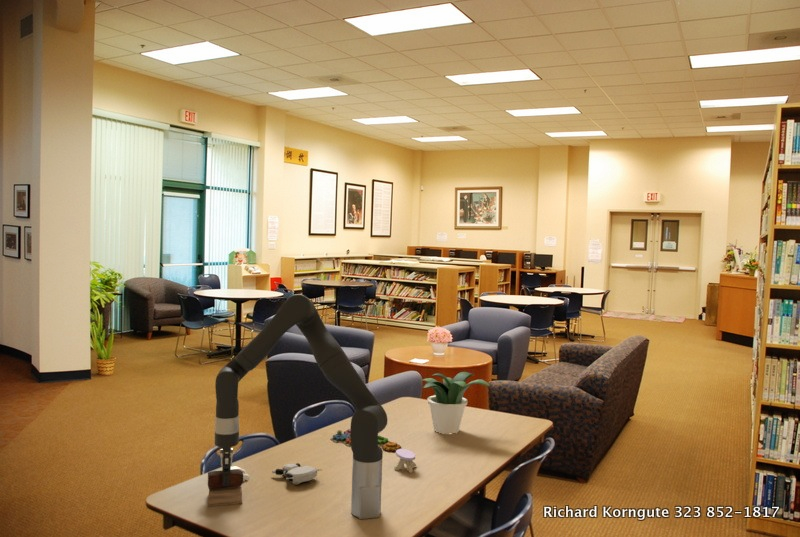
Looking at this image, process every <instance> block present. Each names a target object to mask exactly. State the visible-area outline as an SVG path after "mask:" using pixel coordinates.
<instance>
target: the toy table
mask: <svg viewBox="0 0 800 537" xmlns="http://www.w3.org/2000/svg"><path fill="white" fill-rule="evenodd" d="M395 456H396V457H398V458H400V459H399V461H398V462H397V463H396V465H395V466H394V470H395V471H400V470H399V469H401V470H402V468H403V467H404V466H405V465H406V471H407V472H409V471H410V472H409V473H412V472H413V468H416V467H417V464H416V462H414V460H416V454H415V453H414V452H413V451H411V450H409V449H406V448H405V449H404V448H401V449H398V450H395ZM415 466H416V467H415Z"/></svg>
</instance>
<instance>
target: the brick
mask: <svg viewBox="0 0 800 537" xmlns="http://www.w3.org/2000/svg"><path fill="white" fill-rule="evenodd" d="M230 471H231V473H230V485H229V486H223V485H222V483H223V475H222V470H212V471H208V472H207V488H208V490H209V489H220V488H228V487H235V486H242V485H243V482H244V481H243V472H242V471H241V470H240V469H232V470H230Z"/></svg>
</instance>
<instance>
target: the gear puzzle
mask: <svg viewBox="0 0 800 537" xmlns="http://www.w3.org/2000/svg"><path fill="white" fill-rule="evenodd" d="M342 432H343V433H342ZM330 440H331V441H332V442H333V443H334V444H336V443H337V444H338V443H340V444H344V445H345V446H346V447H350V448H351V428H348V429H346V430H345V431H343V430H340V429H339V430H337V432H336V433H335V434H334V435H332V437H331V438H330ZM378 446H379V447H381V448H382V451H383V450H385V451H387V452H388V451H389V452H390V451H391V452H394V451H395V452H396V450H398V449H402V445H400V444H398V443H397V442H394V441H393V442H392V441H391V440H389V438H388V437H384V436H381V435H378Z"/></svg>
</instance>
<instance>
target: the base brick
mask: <svg viewBox="0 0 800 537" xmlns="http://www.w3.org/2000/svg"><path fill="white" fill-rule="evenodd" d="M239 503H242V504H243V490H242V485H241V486H235V487H228V488H220V489H209V488H208V500H207V507H216V506H217V507H218V506H226V505H227V506H228V504H230V505H240V504H239Z"/></svg>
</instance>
